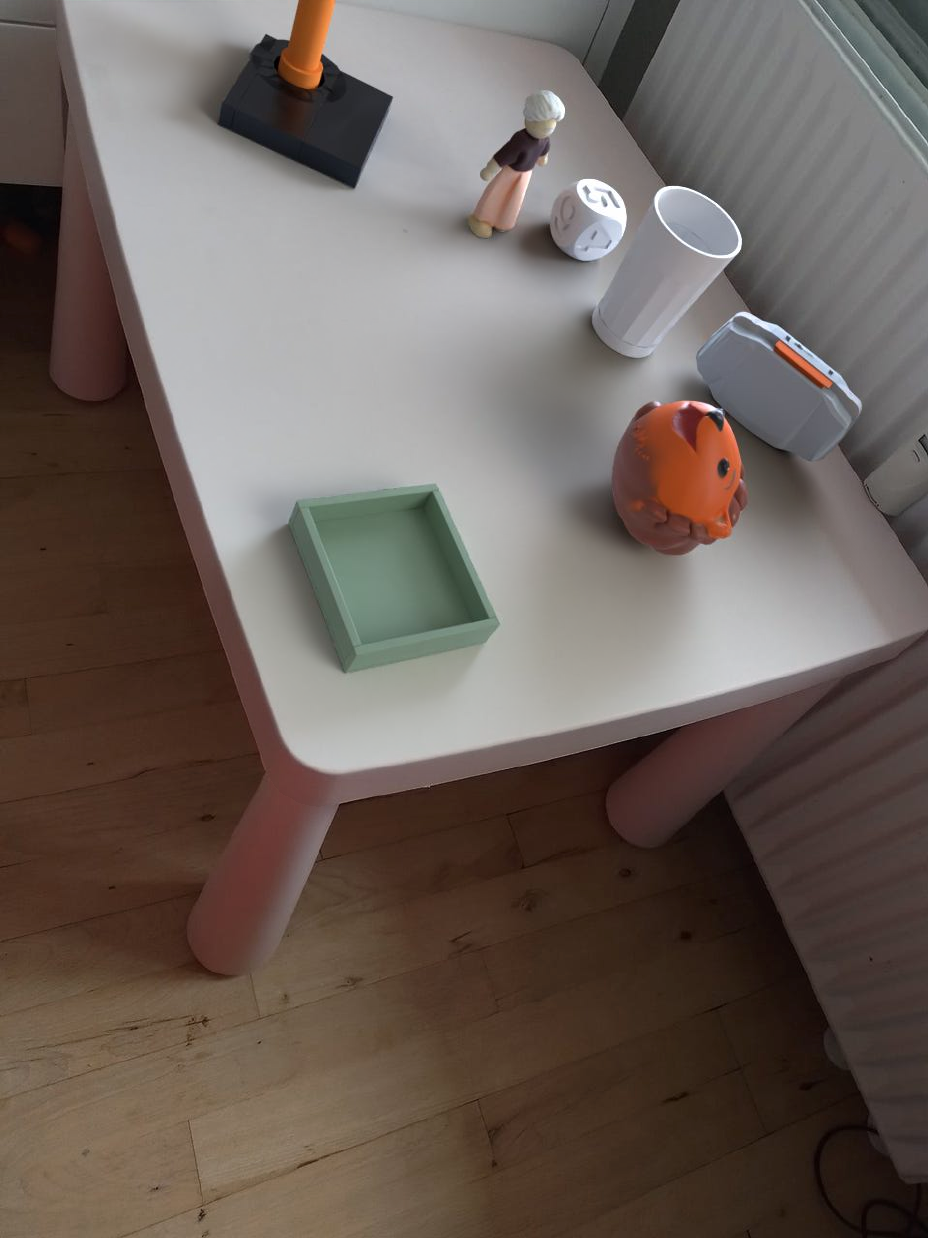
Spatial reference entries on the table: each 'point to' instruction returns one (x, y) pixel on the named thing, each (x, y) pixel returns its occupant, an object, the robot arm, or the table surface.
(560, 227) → the die
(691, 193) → the cup
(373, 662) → the basin
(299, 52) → the plug
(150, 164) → the table surface
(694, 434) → the orange fox figurine
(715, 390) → the gray clasp case
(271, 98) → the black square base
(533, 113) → the grandmother figurine
